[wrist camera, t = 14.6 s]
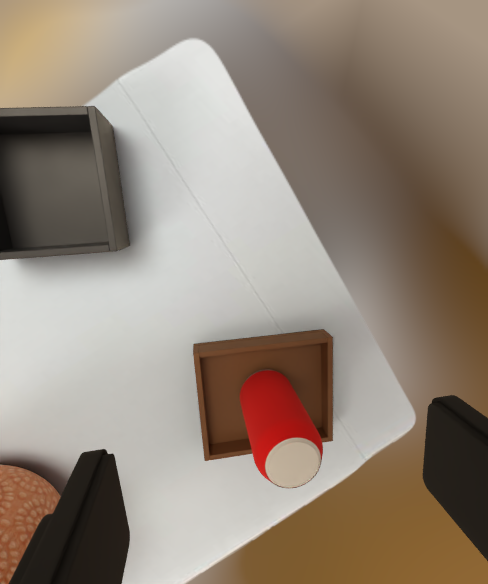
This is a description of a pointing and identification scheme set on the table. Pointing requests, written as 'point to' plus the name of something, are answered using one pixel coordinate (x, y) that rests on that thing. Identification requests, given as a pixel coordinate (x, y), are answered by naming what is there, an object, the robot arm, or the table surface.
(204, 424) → the tray
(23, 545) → the planter
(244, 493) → the table surface
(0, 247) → the bin
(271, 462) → the beverage can
